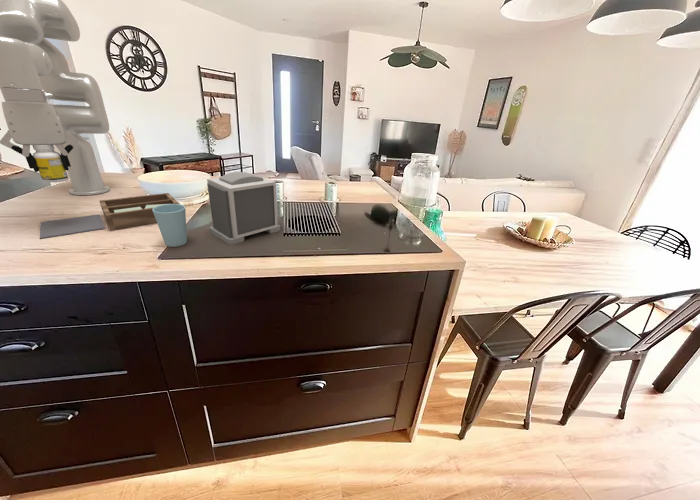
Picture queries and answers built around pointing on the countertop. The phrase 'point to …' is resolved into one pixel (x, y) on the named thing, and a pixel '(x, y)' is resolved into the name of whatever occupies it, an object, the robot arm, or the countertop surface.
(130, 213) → the rack
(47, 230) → the mat
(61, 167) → the supplement bottle
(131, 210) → the offcut
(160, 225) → the cup
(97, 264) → the countertop surface
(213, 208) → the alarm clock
